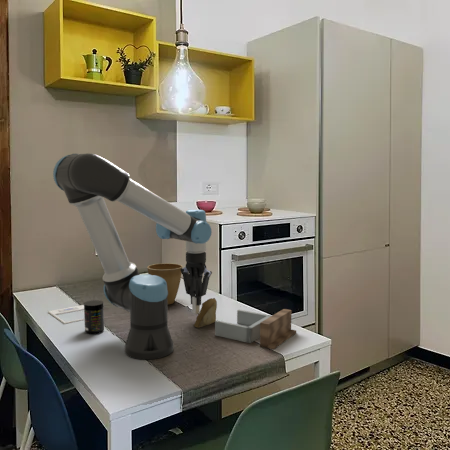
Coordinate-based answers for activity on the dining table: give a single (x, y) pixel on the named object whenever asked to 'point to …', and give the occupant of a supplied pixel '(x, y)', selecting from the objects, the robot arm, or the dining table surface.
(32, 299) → the dining table surface
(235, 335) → the tray
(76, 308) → the photo frame
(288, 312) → the wall
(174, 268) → the plant pot
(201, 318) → the rock
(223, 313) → the dining table surface
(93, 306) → the supplement container
